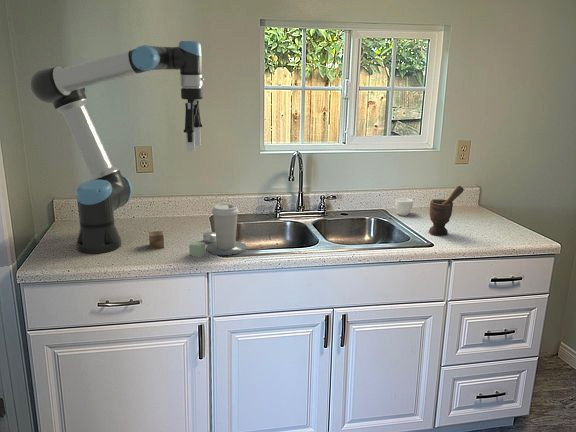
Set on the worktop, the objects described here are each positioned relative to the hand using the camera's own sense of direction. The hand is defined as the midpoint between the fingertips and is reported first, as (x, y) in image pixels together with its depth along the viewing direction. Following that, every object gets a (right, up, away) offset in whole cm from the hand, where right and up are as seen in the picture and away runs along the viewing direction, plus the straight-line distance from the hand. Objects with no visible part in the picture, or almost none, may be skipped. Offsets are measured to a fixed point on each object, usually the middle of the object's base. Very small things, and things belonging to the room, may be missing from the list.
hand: (194, 148), depth 191 cm
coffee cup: (+12, -36, 0) cm, 37 cm away
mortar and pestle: (+95, -32, +21) cm, 103 cm away
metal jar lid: (+5, -34, +8) cm, 35 cm away
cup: (+85, -24, +47) cm, 100 cm away
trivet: (+12, -36, 0) cm, 38 cm away
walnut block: (-14, -36, +2) cm, 38 cm away
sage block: (+2, -38, -5) cm, 38 cm away
